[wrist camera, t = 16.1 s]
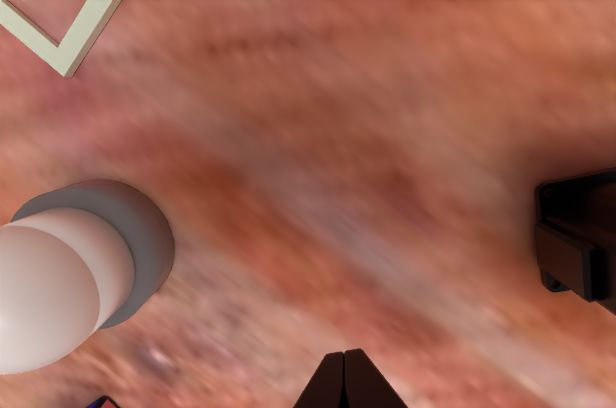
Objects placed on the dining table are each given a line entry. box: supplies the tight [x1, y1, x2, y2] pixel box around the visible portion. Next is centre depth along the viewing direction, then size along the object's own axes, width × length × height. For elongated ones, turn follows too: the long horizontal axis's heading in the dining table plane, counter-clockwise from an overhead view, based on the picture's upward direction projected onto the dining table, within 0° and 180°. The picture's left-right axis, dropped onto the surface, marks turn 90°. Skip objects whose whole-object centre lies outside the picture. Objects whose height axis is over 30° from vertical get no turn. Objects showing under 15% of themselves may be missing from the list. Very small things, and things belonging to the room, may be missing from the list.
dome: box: [0, 207, 135, 374], centre depth 16 cm, size 6×6×6 cm
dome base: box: [10, 180, 174, 329], centre depth 21 cm, size 8×8×3 cm
